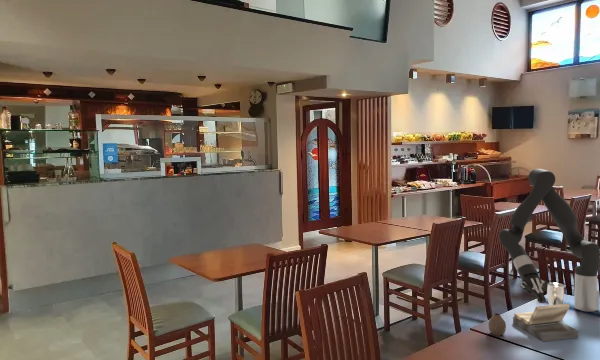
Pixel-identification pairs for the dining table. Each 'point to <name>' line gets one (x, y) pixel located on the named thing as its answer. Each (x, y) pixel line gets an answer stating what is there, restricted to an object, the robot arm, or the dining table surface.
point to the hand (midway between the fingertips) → (543, 302)
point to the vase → (497, 325)
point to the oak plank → (549, 313)
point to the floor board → (544, 328)
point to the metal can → (555, 293)
